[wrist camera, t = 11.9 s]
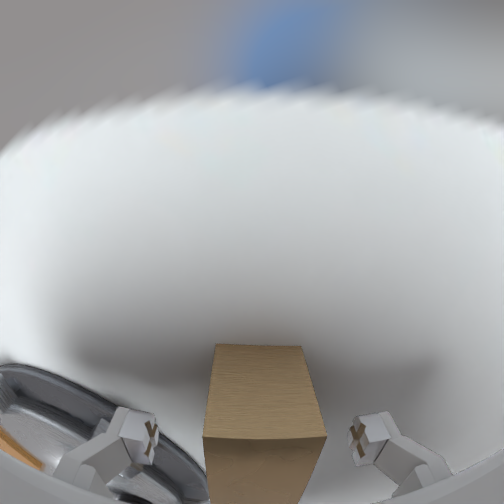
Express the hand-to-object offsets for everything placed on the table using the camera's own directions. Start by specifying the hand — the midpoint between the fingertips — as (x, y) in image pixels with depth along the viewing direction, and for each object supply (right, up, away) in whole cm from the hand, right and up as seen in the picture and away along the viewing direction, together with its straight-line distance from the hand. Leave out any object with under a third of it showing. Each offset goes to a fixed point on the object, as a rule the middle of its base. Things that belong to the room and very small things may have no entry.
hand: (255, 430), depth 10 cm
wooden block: (0, 0, +2) cm, 2 cm away
